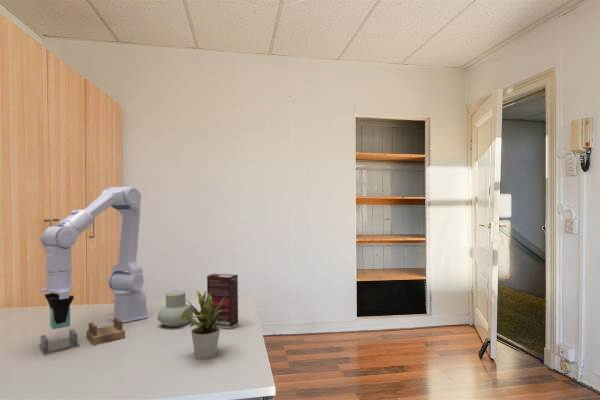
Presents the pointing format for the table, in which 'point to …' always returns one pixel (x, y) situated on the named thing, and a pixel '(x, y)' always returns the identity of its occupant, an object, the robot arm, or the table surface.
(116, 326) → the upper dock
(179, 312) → the air freshener
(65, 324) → the plug
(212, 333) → the house plant
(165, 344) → the table surface
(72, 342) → the lower dock
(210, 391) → the table surface
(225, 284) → the supplement box
